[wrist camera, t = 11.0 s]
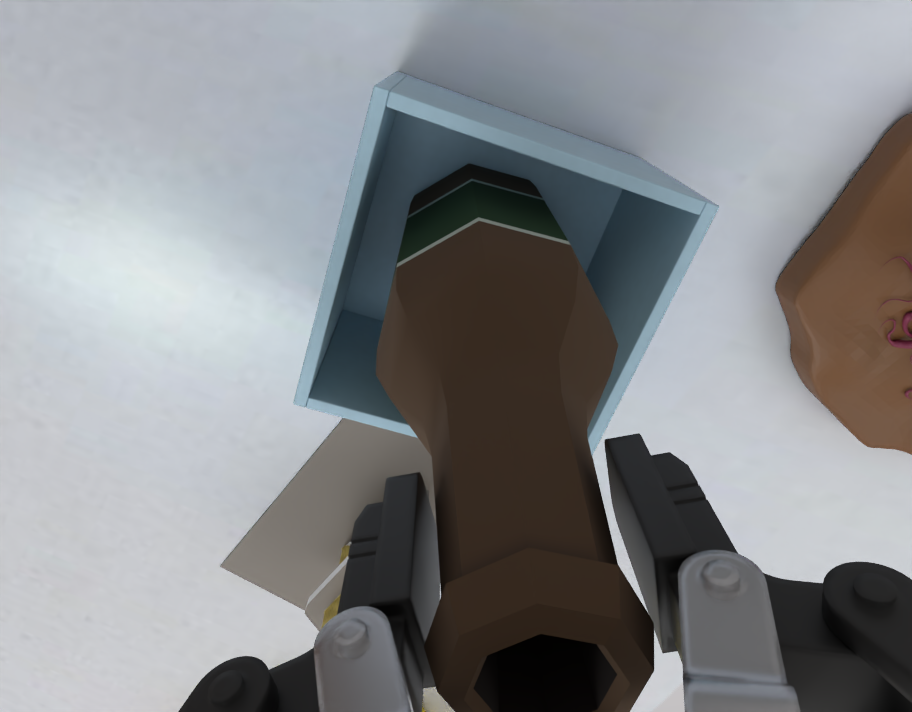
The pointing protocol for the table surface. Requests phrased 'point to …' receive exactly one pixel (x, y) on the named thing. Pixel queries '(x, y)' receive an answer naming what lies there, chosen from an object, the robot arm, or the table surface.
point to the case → (564, 191)
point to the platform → (325, 516)
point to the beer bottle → (511, 452)
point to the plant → (860, 300)
